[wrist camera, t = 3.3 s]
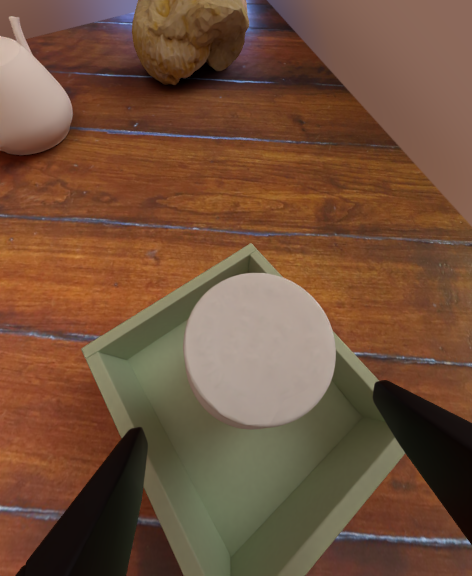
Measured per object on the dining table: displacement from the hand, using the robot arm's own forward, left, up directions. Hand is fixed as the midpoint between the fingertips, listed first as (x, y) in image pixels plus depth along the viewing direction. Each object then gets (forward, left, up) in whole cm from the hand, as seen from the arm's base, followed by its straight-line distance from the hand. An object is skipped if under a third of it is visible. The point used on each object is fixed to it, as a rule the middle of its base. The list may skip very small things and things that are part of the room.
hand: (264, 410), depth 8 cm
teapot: (+43, +3, -10) cm, 44 cm away
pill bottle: (+2, -1, -9) cm, 10 cm away
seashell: (+44, -23, -10) cm, 51 cm away
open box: (+1, 0, -9) cm, 10 cm away
